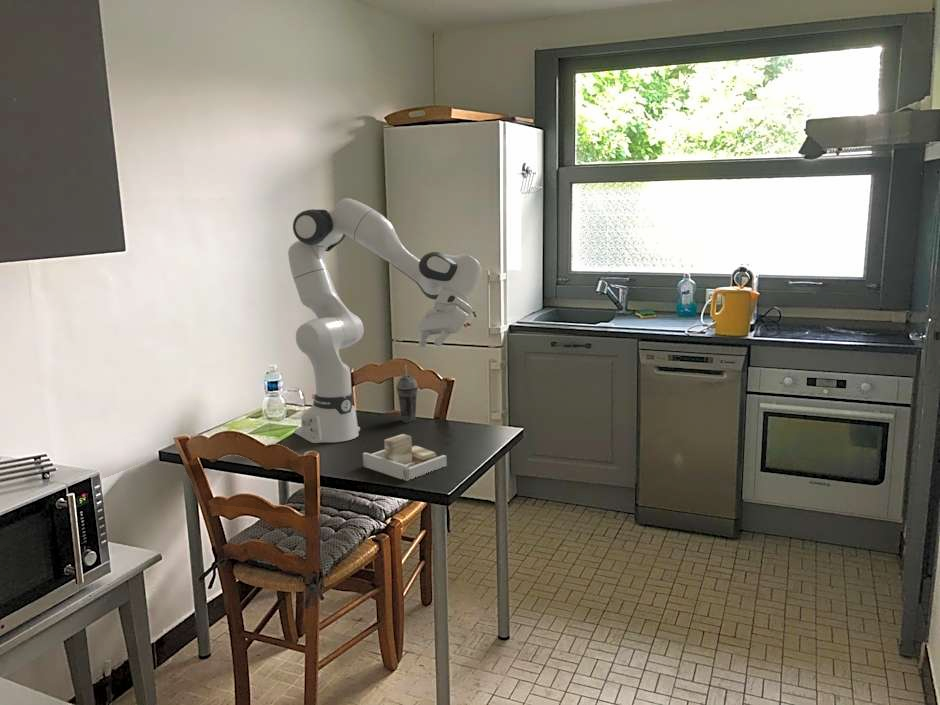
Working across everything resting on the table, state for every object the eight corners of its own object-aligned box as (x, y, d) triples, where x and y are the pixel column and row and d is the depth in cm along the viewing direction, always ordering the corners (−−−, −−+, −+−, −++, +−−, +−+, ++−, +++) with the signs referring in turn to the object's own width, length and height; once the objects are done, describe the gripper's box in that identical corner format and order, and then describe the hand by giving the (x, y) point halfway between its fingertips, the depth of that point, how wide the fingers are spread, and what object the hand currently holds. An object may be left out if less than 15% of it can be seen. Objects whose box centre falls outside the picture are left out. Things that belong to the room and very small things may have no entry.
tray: (363, 466, 223) (362, 453, 222) (403, 452, 234) (403, 440, 233) (406, 481, 211) (406, 466, 210) (446, 465, 222) (446, 452, 221)
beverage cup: (421, 417, 271) (419, 361, 267) (417, 423, 264) (415, 365, 260) (400, 417, 272) (398, 361, 268) (395, 423, 264) (393, 365, 260)
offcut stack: (394, 459, 229) (393, 447, 228) (408, 454, 233) (407, 442, 232) (427, 469, 219) (427, 457, 219) (441, 464, 223) (441, 452, 223)
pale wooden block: (385, 470, 219) (384, 439, 218) (404, 463, 224) (402, 433, 223) (394, 473, 217) (392, 442, 215) (412, 466, 222) (411, 436, 220)
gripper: (424, 301, 237) (404, 340, 233) (459, 296, 220) (438, 338, 216) (440, 313, 240) (420, 351, 236) (476, 308, 223) (455, 350, 219)
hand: (429, 345), depth 226 cm, fingers open, 8 cm apart
